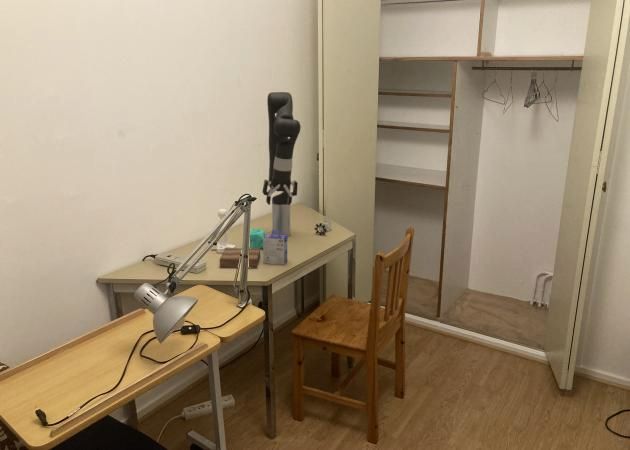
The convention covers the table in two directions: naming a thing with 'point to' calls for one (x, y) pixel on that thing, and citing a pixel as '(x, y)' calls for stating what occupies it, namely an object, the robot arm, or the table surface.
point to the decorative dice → (256, 238)
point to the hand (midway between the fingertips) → (278, 204)
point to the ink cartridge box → (275, 248)
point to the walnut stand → (233, 254)
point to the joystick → (223, 240)
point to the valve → (324, 226)
